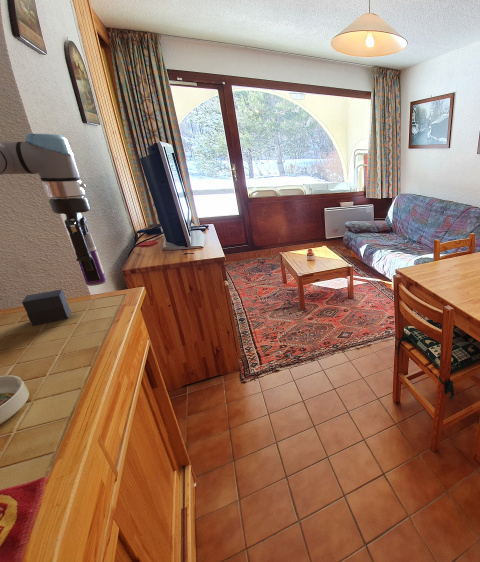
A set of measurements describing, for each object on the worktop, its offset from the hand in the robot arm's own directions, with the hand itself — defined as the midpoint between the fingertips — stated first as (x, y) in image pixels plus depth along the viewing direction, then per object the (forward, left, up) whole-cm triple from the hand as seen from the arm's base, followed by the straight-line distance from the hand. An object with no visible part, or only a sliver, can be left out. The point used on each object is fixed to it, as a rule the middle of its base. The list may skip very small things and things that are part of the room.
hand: (94, 277), depth 92 cm
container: (0, 0, -2) cm, 2 cm away
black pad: (-7, -10, -8) cm, 14 cm away
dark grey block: (-7, -10, -5) cm, 13 cm away
